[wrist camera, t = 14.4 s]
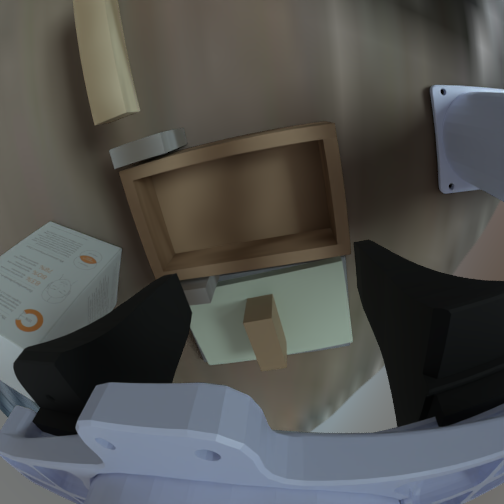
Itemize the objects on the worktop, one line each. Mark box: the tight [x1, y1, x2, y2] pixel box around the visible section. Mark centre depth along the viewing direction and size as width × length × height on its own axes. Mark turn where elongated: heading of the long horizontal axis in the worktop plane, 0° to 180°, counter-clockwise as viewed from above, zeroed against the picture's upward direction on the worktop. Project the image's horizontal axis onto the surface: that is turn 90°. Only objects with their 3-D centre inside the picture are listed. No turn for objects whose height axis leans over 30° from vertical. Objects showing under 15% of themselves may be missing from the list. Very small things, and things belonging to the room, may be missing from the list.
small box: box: [0, 221, 122, 402], centre depth 19 cm, size 8×6×13 cm
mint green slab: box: [190, 256, 353, 371], centre depth 23 cm, size 13×8×4 cm, turn 106°
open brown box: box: [109, 121, 351, 306], centre depth 19 cm, size 13×11×4 cm
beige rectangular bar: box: [73, 0, 140, 125], centre depth 12 cm, size 2×12×2 cm, turn 12°
